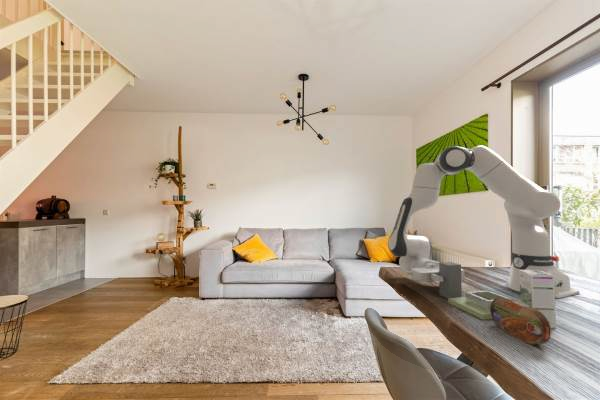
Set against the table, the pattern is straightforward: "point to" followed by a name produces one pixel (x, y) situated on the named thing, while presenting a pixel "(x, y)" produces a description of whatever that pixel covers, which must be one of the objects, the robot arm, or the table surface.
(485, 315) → the deck plate
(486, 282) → the table surface
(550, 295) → the syrup box
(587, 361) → the table surface
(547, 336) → the tin
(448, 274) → the chute block
